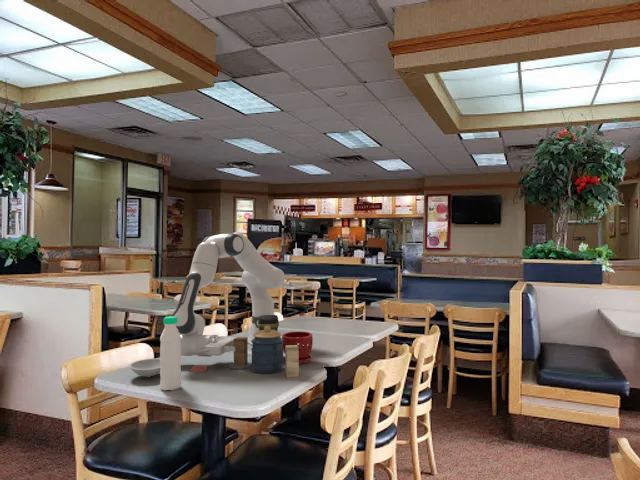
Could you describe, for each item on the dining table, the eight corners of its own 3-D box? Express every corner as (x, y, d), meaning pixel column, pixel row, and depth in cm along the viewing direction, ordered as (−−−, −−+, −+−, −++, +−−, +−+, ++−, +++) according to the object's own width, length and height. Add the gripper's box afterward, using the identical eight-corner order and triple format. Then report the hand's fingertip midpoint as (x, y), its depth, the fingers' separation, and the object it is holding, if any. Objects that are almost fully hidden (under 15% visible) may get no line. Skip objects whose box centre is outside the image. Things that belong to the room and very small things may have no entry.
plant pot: (282, 358, 212) (282, 331, 212) (311, 357, 213) (311, 330, 213) (281, 366, 199) (281, 337, 199) (313, 365, 200) (313, 336, 200)
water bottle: (164, 385, 172) (164, 315, 173) (183, 385, 172) (183, 315, 172) (157, 391, 165) (156, 318, 166) (177, 391, 165) (177, 318, 165)
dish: (132, 372, 191) (132, 359, 191) (170, 369, 194) (170, 357, 194) (125, 384, 173) (125, 370, 174) (167, 381, 177) (167, 368, 177)
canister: (250, 366, 198) (249, 323, 198) (281, 364, 201) (281, 322, 201) (252, 374, 185) (252, 329, 186) (285, 372, 188) (285, 327, 188)
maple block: (285, 373, 186) (285, 345, 187) (296, 373, 187) (296, 344, 188) (287, 376, 182) (286, 347, 182) (298, 376, 183) (298, 347, 183)
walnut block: (237, 363, 202) (237, 336, 202) (247, 363, 201) (247, 337, 201) (233, 365, 197) (233, 338, 197) (244, 366, 197) (244, 339, 197)
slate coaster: (233, 362, 205) (233, 361, 205) (255, 363, 203) (255, 362, 203) (225, 368, 195) (225, 367, 195) (248, 369, 193) (248, 368, 193)
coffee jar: (278, 353, 222) (278, 313, 222) (280, 357, 214) (279, 315, 214) (257, 354, 220) (257, 314, 220) (258, 358, 212) (257, 316, 212)
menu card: (194, 367, 200) (194, 365, 200) (208, 367, 200) (208, 365, 200) (189, 373, 191) (189, 371, 191) (205, 372, 191) (205, 370, 191)
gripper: (197, 343, 191) (231, 343, 189) (216, 333, 211) (246, 334, 209) (197, 359, 191) (231, 359, 189) (216, 348, 211) (246, 349, 209)
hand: (239, 346), depth 199 cm, fingers open, 8 cm apart
